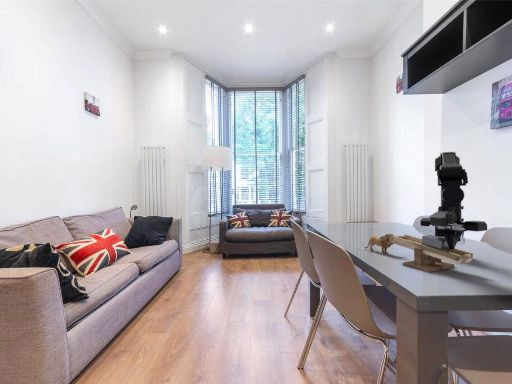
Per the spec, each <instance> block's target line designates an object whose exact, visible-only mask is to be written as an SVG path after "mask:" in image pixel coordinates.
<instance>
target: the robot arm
mask: <svg viewBox="0 0 512 384" xmlns="http://www.w3.org/2000/svg"><path fill="white" fill-rule="evenodd" d="M460 160H461V159H460V157H459V156H457V153H456V152H455V151H447V152H446V151H445V152H440V154H439V156H437V157H436V158H435V159H434V172H436V176H437V186H438V187H440V205H439V206H438V208H437V211H436V212H434V213H433V214H431V215H429V217H422V218H421V219H420V221H419V223H420V224H419V225H420V226H421V227H430V226H433V227H434V236H438V237H441V238H445V239H446V241H447V244H448V246H449V249H450V250H453V249H454V248H455V249H456V246H457V243H459V242H461V237H462V236H463V234H464V233H465V232H485V231H488V224H487V223H486V221H482V220H467V221H466V220H465V219H464V218H462V216H463V215H462V210H464V209H465V207H464V206H463V205H462V202H463V200H464V198H465V192H464V190H463V189H462V188H461V187H462V186H463V187H466V186H467V184H468V183H469V178H468V172H467V170H466V168H463V165H462V164H461V162H460Z"/></svg>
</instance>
